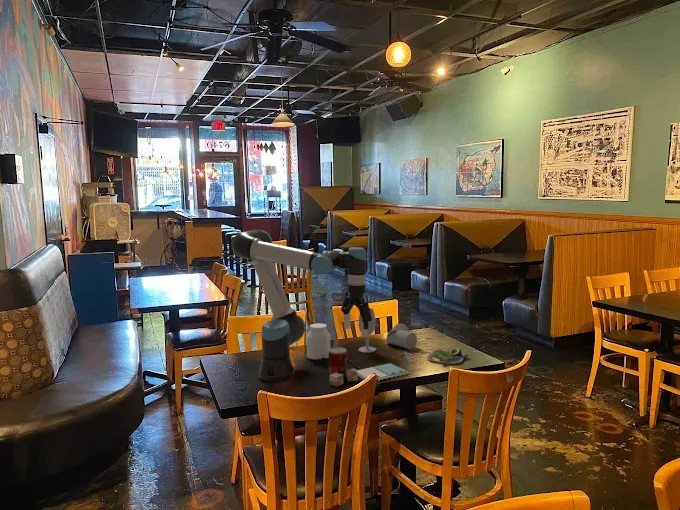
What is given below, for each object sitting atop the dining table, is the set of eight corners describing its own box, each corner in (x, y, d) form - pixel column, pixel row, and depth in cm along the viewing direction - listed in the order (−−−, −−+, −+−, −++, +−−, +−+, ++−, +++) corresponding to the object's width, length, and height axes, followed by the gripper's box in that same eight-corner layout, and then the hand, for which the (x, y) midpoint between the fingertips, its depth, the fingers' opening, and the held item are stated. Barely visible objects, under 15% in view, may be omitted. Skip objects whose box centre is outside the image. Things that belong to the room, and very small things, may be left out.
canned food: (341, 379, 214) (340, 353, 213) (325, 375, 218) (324, 350, 217) (350, 373, 220) (350, 349, 219) (335, 370, 225) (334, 346, 223)
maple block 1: (336, 386, 206) (336, 377, 205) (329, 384, 209) (329, 374, 208) (343, 384, 209) (343, 374, 208) (336, 381, 211) (336, 372, 211)
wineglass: (379, 349, 253) (379, 308, 251) (370, 354, 246) (370, 312, 243) (364, 347, 258) (363, 306, 255) (355, 351, 251) (354, 310, 248)
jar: (308, 360, 239) (308, 329, 237) (305, 353, 248) (304, 324, 246) (332, 357, 242) (332, 327, 240) (328, 351, 251) (327, 322, 249)
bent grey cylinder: (374, 340, 265) (402, 349, 250) (377, 320, 265) (405, 328, 250) (397, 341, 276) (425, 349, 261) (400, 322, 277) (428, 329, 261)
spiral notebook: (370, 383, 209) (370, 380, 208) (352, 373, 221) (352, 370, 220) (408, 374, 219) (408, 371, 218) (389, 364, 231) (389, 362, 230)
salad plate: (460, 369, 224) (460, 359, 224) (421, 364, 232) (421, 354, 232) (470, 357, 241) (470, 347, 241) (433, 352, 250) (433, 342, 249)
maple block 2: (348, 381, 211) (347, 372, 211) (346, 378, 215) (346, 369, 215) (357, 381, 212) (357, 371, 211) (355, 377, 216) (355, 368, 215)
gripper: (381, 288, 207) (379, 338, 210) (348, 278, 228) (347, 324, 231) (366, 290, 203) (364, 341, 206) (333, 279, 224) (333, 326, 227)
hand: (355, 332), depth 219 cm, fingers open, 13 cm apart
